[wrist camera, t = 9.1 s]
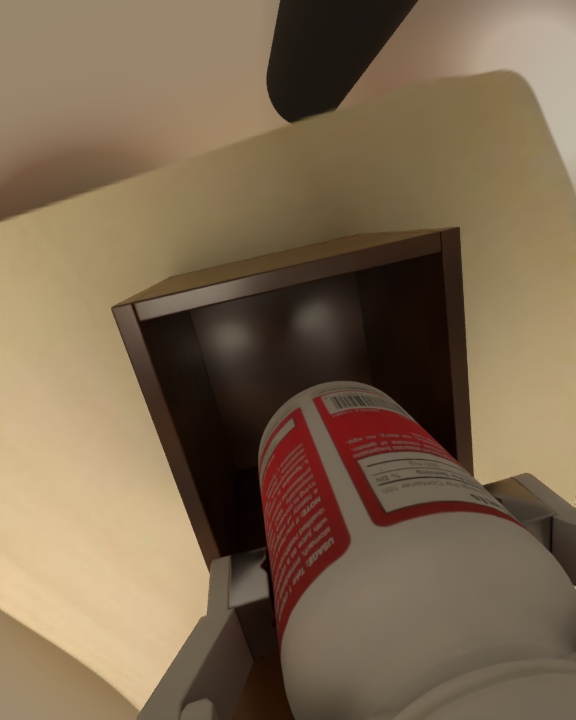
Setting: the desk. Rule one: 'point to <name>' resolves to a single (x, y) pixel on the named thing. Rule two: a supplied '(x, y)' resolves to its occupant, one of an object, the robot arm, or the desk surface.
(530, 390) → the desk surface
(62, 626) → the desk surface
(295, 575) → the pill bottle
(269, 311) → the box
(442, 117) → the desk surface
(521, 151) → the desk surface
